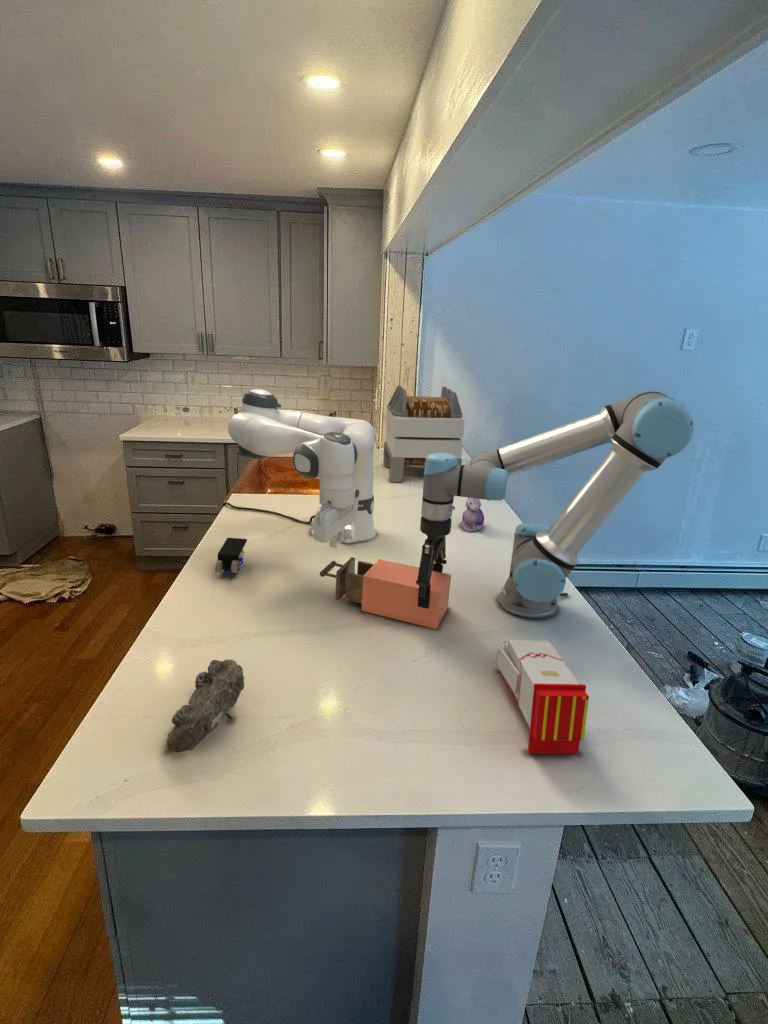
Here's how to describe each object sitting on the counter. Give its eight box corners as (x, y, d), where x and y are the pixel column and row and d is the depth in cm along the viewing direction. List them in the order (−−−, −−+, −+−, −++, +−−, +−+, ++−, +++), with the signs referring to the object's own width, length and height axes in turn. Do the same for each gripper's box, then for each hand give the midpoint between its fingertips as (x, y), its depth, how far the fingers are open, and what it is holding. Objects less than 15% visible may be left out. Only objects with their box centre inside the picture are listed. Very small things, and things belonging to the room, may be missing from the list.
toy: (545, 623, 127) (598, 692, 98) (539, 677, 130) (590, 761, 101) (491, 622, 127) (529, 691, 98) (487, 677, 130) (522, 760, 100)
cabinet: (361, 610, 147) (363, 575, 144) (376, 592, 157) (378, 558, 154) (436, 629, 141) (440, 593, 138) (447, 608, 151) (451, 574, 148)
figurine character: (238, 584, 162) (249, 557, 175) (236, 562, 158) (247, 536, 172) (215, 584, 161) (227, 556, 175) (212, 561, 158) (225, 535, 171)
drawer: (316, 595, 152) (317, 567, 149) (332, 579, 160) (333, 553, 158) (403, 616, 144) (406, 587, 141) (415, 599, 153) (417, 571, 150)
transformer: (382, 463, 289) (386, 382, 275) (445, 464, 293) (451, 384, 279) (390, 482, 257) (394, 392, 243) (460, 483, 261) (468, 394, 247)
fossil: (192, 660, 117) (244, 628, 112) (224, 691, 120) (276, 661, 115) (142, 746, 98) (202, 712, 93) (182, 779, 101) (242, 748, 96)
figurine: (470, 533, 202) (474, 493, 197) (453, 524, 211) (457, 485, 206) (491, 530, 207) (495, 491, 202) (474, 520, 215) (478, 483, 210)
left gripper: (330, 510, 136) (329, 563, 140) (362, 487, 154) (361, 535, 159) (306, 506, 138) (307, 558, 142) (341, 484, 156) (340, 531, 160)
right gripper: (438, 536, 126) (431, 621, 134) (462, 504, 147) (454, 580, 155) (406, 530, 129) (401, 614, 136) (434, 500, 150) (428, 575, 157)
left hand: (335, 545), depth 151 cm, fingers closed
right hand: (429, 596), depth 146 cm, fingers closed on cabinet, 11 cm apart
